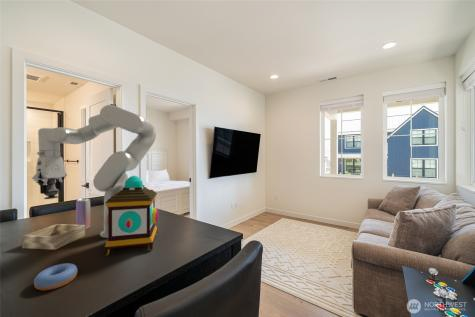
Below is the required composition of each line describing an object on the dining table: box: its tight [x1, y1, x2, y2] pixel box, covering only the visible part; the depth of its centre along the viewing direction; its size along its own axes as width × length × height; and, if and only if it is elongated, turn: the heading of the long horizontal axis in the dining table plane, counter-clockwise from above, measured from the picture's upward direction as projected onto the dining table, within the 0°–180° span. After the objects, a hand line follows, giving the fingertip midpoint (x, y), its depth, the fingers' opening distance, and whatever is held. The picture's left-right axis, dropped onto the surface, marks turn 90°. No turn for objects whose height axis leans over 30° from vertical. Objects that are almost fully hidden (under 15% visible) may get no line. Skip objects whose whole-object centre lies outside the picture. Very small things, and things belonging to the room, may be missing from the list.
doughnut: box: [33, 262, 78, 291], centre depth 62 cm, size 10×10×5 cm
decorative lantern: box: [103, 175, 160, 256], centre depth 87 cm, size 20×20×30 cm
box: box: [21, 223, 86, 250], centre depth 90 cm, size 15×15×5 cm
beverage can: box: [75, 197, 91, 230], centre depth 107 cm, size 6×6×15 cm
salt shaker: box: [43, 178, 60, 200], centre depth 97 cm, size 6×6×12 cm
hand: (51, 191), depth 97 cm, fingers closed on salt shaker, 5 cm apart
